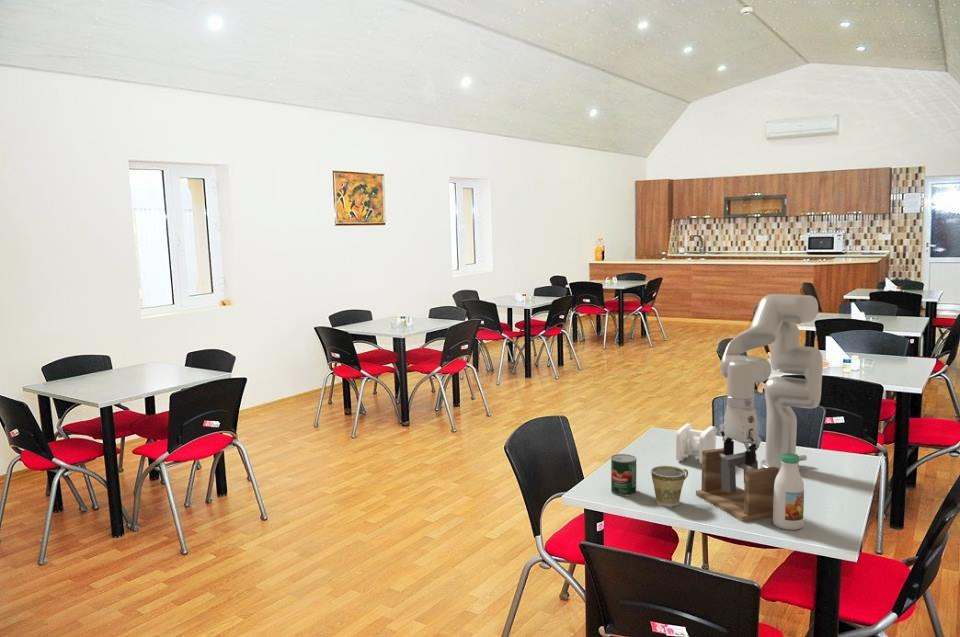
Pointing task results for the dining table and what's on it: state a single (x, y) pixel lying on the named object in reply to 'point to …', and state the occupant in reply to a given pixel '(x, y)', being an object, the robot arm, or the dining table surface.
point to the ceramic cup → (668, 484)
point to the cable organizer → (694, 442)
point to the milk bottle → (788, 494)
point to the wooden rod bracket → (742, 502)
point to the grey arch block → (732, 470)
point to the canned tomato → (623, 474)
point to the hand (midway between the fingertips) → (739, 459)
